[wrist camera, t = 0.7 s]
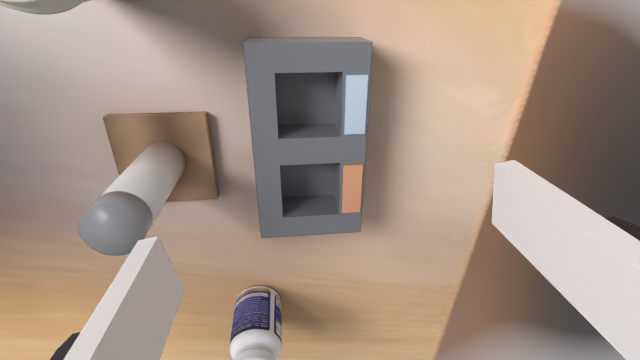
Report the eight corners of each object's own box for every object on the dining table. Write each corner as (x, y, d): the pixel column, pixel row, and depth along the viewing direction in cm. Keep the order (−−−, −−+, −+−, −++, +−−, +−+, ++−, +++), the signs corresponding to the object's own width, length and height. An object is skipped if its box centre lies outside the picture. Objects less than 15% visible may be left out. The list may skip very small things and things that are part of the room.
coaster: (131, 198, 36) (127, 203, 35) (107, 114, 32) (102, 117, 31) (219, 194, 37) (217, 198, 36) (206, 111, 33) (204, 114, 32)
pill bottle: (227, 306, 44) (214, 380, 35) (252, 276, 43) (245, 347, 34) (264, 322, 46) (261, 397, 37) (290, 295, 45) (292, 366, 36)
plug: (147, 180, 34) (88, 257, 24) (137, 142, 33) (69, 207, 22) (188, 178, 35) (149, 253, 24) (181, 140, 33) (135, 204, 22)
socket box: (263, 211, 39) (260, 239, 34) (248, 38, 31) (242, 43, 26) (352, 206, 40) (362, 232, 35) (361, 37, 32) (375, 41, 27)
